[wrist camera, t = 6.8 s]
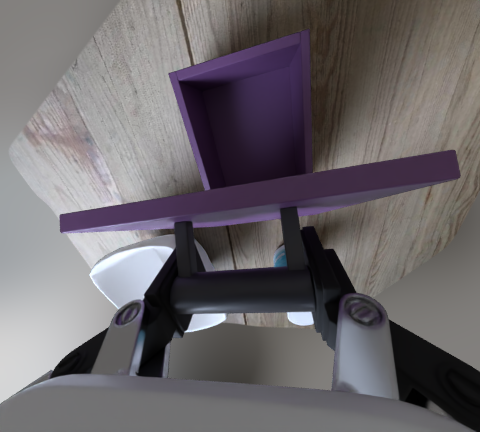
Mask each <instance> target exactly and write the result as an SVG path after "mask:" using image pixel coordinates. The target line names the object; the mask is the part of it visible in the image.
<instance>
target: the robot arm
mask: <svg viewBox="0 0 480 432" xmlns="http://www.w3.org/2000/svg"><path fill="white" fill-rule="evenodd" d="M300 232H301V239H302V246H303V253H304V261H305V265H307V266H308V268H309V270H310V273H311V276H312V280H313V285H314V290H315V297H316V311H315V312H311V313H312V317H313V321H314V325H315V329H316V332H317V333H321V335H322V339H323V341H326V342H327V345H328V346H329V347H330V348H331V349H333V350H334V351H335V357H334V367H333V380H332V390H331V391H329V390H319V389H309V388H295V387H283V386H270V385H255V384H243V383H229V382H215V381H214V382H213V381H200V380H187V379H171V378H168V370H169V357H170V342H171V340H172V338H182V337H183V335H184V332H185V331H187V329H188V327H189V324H190V322H191V319H192V316H193V314H176V313H175V312H174V311H173V310H172V307H171V304H170V291H171V287H172V284H173V281H174V279H175V278H176V277H177V276H178V266H177V255H176V247H175V249H174V250H173V252H172V253H171V255H170V256H169V258H168V259H167V261H166V262H165V264H164V265H163V267H162V268H161V270H160V271H159V273H158V274H157V276H156V277H155V279H154V280H153V282H152V283H151V285H150V286H149V288H148V289H147V291H146V292H145V294H144V297H145V298H144V299H143V301H142V300H139V299H136V300H132V301H130V302H128V303H127V304H125V305H124V306H122V307H121V308H120V309H119V310H118V311H117V312H116V314H115V315H114V317H113V319H112V321H111V324H110V326H109V327H108V328H107V329H105V330H104V331H102V332H101V333H99V334H98V335H96V336H95V337H93V338H92V339H90V340H88V341H87V342H85V343H84V344H82V345H81V346H79V347H78V348H76V349H75V350H73V351H72V352H70V353H69V354H68V355H67V356H65V357H64V358H63V359H62V360H61V361H60V363H59V364H58V365H57V366H56V367H55V369H54V371H52V370H51V371H49V372H48V373H46V374H45V375H43V376H42V377H40V378H38V379H37V380H35V381H34V382H32V383H31V384H29V385H28V386H26V387H25V388H23V389H22V390H20V391H19V392H17V393H16V394H14V395H13V396H11V397H10V398H8V399H7V400H5V401H4V402H2V403H1V404H0V432H480V372H479V371H478V370H476V369H475V368H473V367H472V366H470V365H468V364H466V363H465V362H463V361H461V360H459V359H458V358H456V357H454V356H452V355H451V354H449V353H447V352H445V351H443V350H442V349H440V348H438V347H436V346H435V345H433V344H431V343H429V342H427V341H426V340H424V339H422V338H420V337H419V336H417V335H415V334H414V333H412V332H410V331H408V330H407V329H405V328H403V327H401V326H400V325H397V324H396V323H394V322H392V321H391V320H389V319H388V315H387V312H386V310H385V309H384V308H383V306H382V305H381V304H380V303H379V302H377V301H376V300H375V299H373V298H371V297H370V296H367V295H364V294H361V293H356V291H355V289H354V287H353V285H352V283H351V281H350V279H349V277H348V275H347V273H346V271H345V270H344V268H343V266H342V264H341V262H340V260H339V258H338V256H337V254H336V252H335V251H334V249H323V247H322V244H321V242H320V240H319V237H318V235H317V233H316V231H315V228H314V226H308V227H302V230H300ZM195 252H196V263H197V272H206V269H205V267H204V265H203V262H202V260H201V257H200V255H199V252H198V250H197V247H196V245H195Z"/></svg>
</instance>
